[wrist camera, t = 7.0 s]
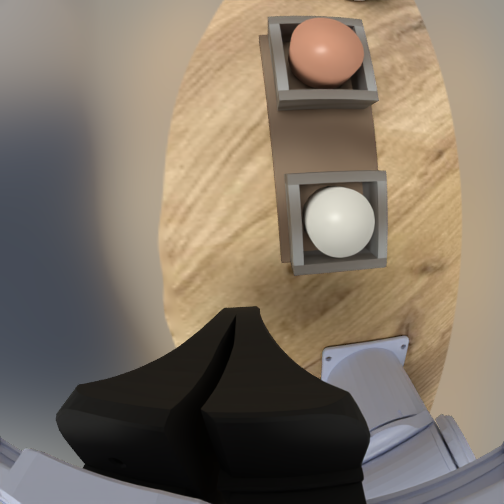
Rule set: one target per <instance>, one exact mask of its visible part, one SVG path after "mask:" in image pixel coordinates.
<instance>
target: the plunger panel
mask: <svg viewBox="0 0 504 504" xmlns="http://www.w3.org/2000/svg"><path fill="white" fill-rule="evenodd" d="M312 18H329V19H333V20H336V21H339V22H341V23H343V24H345V25H346V26H348V27H349V28H350V29H352V30H353V31H354V32H355V33H356V35H357V36H358V37H359V39H360V41H361V43H362V45H363V49H364V58H363V62H362V64H361V66H360V67H359V68H358V70H357V71H356V72H355V73H354V74H353V75H352V76H351V77H350V78H349V79H348V80H347V81H346V82H345V83H344V84H343V85H341V86H339V87H337V88H334V89H317V88H313V87H311V86H308V85H306V84H304V83H303V82H302V81H300V80H299V79H298V78H297V77H296V76H295V75H294V73H293V72H292V70H291V69H290V66H289V62H288V53H289V48H290V42H291V37H292V34H293V32H294V30H295V28H296V27H297V26H298V25H299V24H301V23H302V22H304V21H306V20H309V19H312ZM259 43H260V51H261V59H262V67H263V75H264V83H265V91H266V100H267V109H268V118H269V127H270V137H271V147H272V157H273V167H274V178H275V189H276V200H277V212H278V225H279V237H280V251H281V261H282V263H289V262H291V265H292V269H293V273H294V276H296V275H308V274H320V273H331V272H341V271H352V270H362V269H372V268H382V267H386V264H387V233H388V208H387V178H386V171H378V165H377V152H376V141H375V132H374V123H373V115H372V108H371V105H372V104H374V103H376V102H377V101H379V99H378V93H377V87H376V81H375V76H374V70H373V65H372V61H371V56H370V52H369V47H368V43H367V39H366V35H365V31H364V27H363V23H362V20H361V19H352V18H341V17H325V16H275V17H268V35H259ZM325 186H340V187H344V188H349V189H352V190H355V191H357V192H359V193H360V194H362V195H363V196H364V197H365V198H366V199H367V200H368V202H369V203H370V205H371V207H372V210H373V213H374V218H375V225H374V231H373V234H372V236H371V239H370V240H369V242H368V243H367V245H366V246H365V247H364V248H363V249H362V250H361V251H359V252H358V253H356V254H354V255H352V256H348V257H343V258H338V257H332V256H329V255H326V254H324V253H323V252H321V251H320V250H319V249H318V248H317V247H316V246H315V245H314V243H313V242H312V240H311V239H310V237H309V236H308V234H307V232H306V230H305V228H304V225H303V220H302V214H303V208H304V205H305V203H306V201H307V199H308V198H309V197H310V195H311V194H312V193H314V192H315V191H316V190H318V189H320V188H322V187H325Z"/></svg>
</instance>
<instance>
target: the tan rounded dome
mask: <svg viewBox="0 0 504 504" xmlns="http://www.w3.org/2000/svg"><path fill="white" fill-rule="evenodd" d="M363 58H364V49H363V45H362V43H361V41H360V39H359V37H358V36H357V35H356V33H355V32H354V31H353V30H352V29H350V28H349V27H348V26H346V25H345V24H343V23H341V22H339V21H336V20H333V19H329V18H312V19H309V20H306V21H304V22H302V23H301V24H299V25H298V26H297V27H296V28H295V30H294V32H293V34H292V37H291V42H290V48H289V53H288V62H289V66H290V69H291V70H292V72H293V73H294V75H295V76H296V77H297V78H298V79H299V80H300V81H302V82H303V83H304V84H306V85H308V86H311V87H313V88H317V89H334V88H337V87H339V86H341V85H343V84H344V83H345V82H346V81H347V80H348V79H349V78H350V77H351V76H352V75H353V74H354V73H355V72H356V71H357V70H358V68H359V67H360V66H361V64H362V62H363Z"/></svg>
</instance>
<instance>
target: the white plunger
mask: <svg viewBox="0 0 504 504" xmlns="http://www.w3.org/2000/svg"><path fill="white" fill-rule="evenodd" d="M302 220H303V225H304V228H305V230H306V232H307V234H308V236H309V237H310V239H311V240H312V242H313V243H314V245H315V246H316V247H317V248H318V249H319V250H320V251H321V252H323V253H324V254H326V255H329V256H332V257H338V258H343V257H348V256H352V255H354V254H356V253H358V252H359V251H361V250H362V249H363V248H364V247H365V246H366V245H367V243H368V242H369V240H370V239H371V236H372V234H373V231H374V225H375V218H374V213H373V210H372V207H371V205H370V203H369V202H368V200H367V199H366V198H365V197H364V196H363V195H362V194H360V193H359V192H357V191H355V190H352V189H349V188H344V187H340V186H325V187H322V188H320V189H318V190H316V191H315V192H314V193H312V194H311V195H310V197H309V198H308V199H307V201H306V203H305V205H304V208H303V214H302Z"/></svg>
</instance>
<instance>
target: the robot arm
mask: <svg viewBox="0 0 504 504" xmlns="http://www.w3.org/2000/svg"><path fill="white" fill-rule="evenodd" d="M408 343H409V339H408V337H407V336H399V337H394V338H388V339H382V340H376V341H370V342H364V343H357V344H350V345H342V346H335V347H327V348H325V349H324V350H323V352H322V373H321V379H319V378H317V377H315V376H314V375H312V374H310V373H309V372H307V371H306V370H305V369H303V368H302V367H300V366H299V365H298V364H297V363H295V362H294V361H293V360H292V359H291V358H290V357H289V356H288V355H287V354H286V353H285V352H284V351H283V350H282V349H281V348H280V347H279V345H278V344H277V343H276V341H275V340H274V339H273V337H272V336H271V335H270V333H269V331H268V330H267V328H266V326H265V325H264V323H263V320H262V318H261V315H260V309H259V308H258V307H257V306H253V307H235V308H224V309H222V310H221V311H220V312H219V313H218V314H217V315H216V316H215V317H214V318H213V319H212V320H211V321H209V322H208V323H207V324H206V325H205V326H204V327H203V328H202V329H201V330H199V331H198V332H197V333H196V334H194V335H193V336H192V337H191V338H189V339H188V340H187V341H186V342H184V343H183V344H182V345H180V346H179V347H177V348H176V349H174V350H173V351H171V352H169V353H168V354H166V355H164V356H163V357H161V358H159V359H157V360H155V361H153V362H151V363H148V364H146V365H144V366H142V367H140V368H138V369H135V370H132V371H130V372H127V373H124V374H121V375H118V376H115V377H112V378H108V379H104V380H99V381H95V382H90V383H86V384H80V385H78V386H77V387H76V388H75V390H74V391H73V392H72V394H71V395H70V396H69V398H68V399H67V400H66V402H65V403H64V404H63V406H62V407H61V409H60V410H59V411H58V413H57V414H56V422H57V425H58V428H59V431H60V432H61V434H62V435H63V437H64V438H65V440H66V441H67V442H68V444H69V445H70V446H71V447H72V449H73V450H74V451H75V452H76V454H77V455H78V456H79V457H80V459H81V460H82V461H83V462H84V463H85V465H84V467H83V468H80V467H77V466H75V465H72V464H70V463H67V462H65V461H63V460H60V459H58V458H56V457H53V456H51V455H49V454H47V453H45V452H42V451H38V450H35V449H32V448H25V449H24V450H23V451H22V450H20V449H18V448H17V447H15V446H13V445H12V444H10V443H8V442H7V441H5V440H4V439H2V438H1V437H0V501H1V502H2V503H3V504H504V442H503V444H502V445H501V446H499V447H498V448H496V449H494V450H493V451H491V452H489V453H487V454H486V455H484V456H482V457H480V458H478V459H476V458H475V456H474V454H473V452H472V450H471V448H470V447H469V444H468V443H467V441H466V439H465V437H464V435H463V433H462V432H461V430H460V428H459V427H458V425H457V423H456V422H455V420H454V418H453V417H452V416H444V415H443V414H441V415H440V416H438V417H437V418H436V422H437V424H438V426H439V427H438V426H437V424H436V422H435V421H434V419H433V418H432V417H431V415H430V413H429V412H428V410H427V408H426V407H425V405H424V403H423V401H422V399H421V398H420V396H419V394H418V392H417V390H416V389H415V387H414V385H413V383H412V382H411V380H410V378H409V377H408V375H407V373H406V371H405V370H404V368H403V366H404V361H405V357H406V353H407V348H408ZM402 345H404V346H402ZM401 346H402V347H401ZM327 357H330V358H328V359H326V358H327ZM439 428H440V429H439Z"/></svg>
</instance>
